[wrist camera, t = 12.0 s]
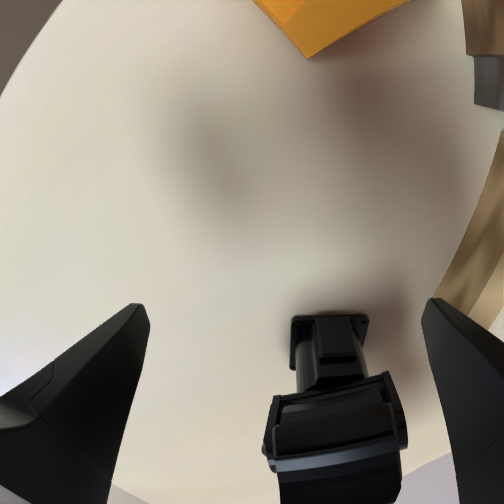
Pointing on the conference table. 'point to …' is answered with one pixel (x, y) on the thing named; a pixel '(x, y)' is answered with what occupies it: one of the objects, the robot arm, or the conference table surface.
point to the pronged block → (486, 49)
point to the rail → (481, 254)
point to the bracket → (322, 19)
